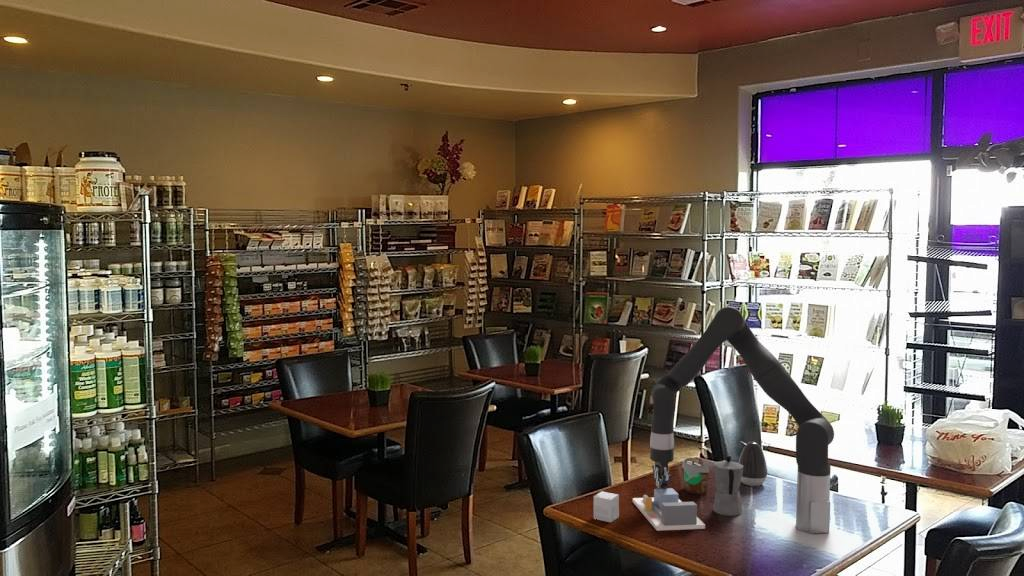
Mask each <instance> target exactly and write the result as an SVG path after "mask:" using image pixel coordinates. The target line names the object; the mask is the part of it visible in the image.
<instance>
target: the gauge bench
mask: <svg viewBox="0 0 1024 576" xmlns="http://www.w3.org/2000/svg"><path fill="white" fill-rule="evenodd" d="M645 497H649V496H648V495H647V494H643V495H642V497H632V503H633V504H634V506H636V508H637V509H638V510H639V511H640V512H641V514H642V515H643V516H644V517H645V518H646V519H647V522H649V523H650V525H651V526H652V527H653V528H654V530H655V531H658V532H659V531H681V530H702V529H703V530H706V524H705V523H704V522H703V521H702V520H701V519H700V518H699V517H698V514H697V513H698V504H697V503H695V502H694V501H682V500H681V499H680V498H679V499H678V502H670V503H662V510H661V511H660V509H659V508H658V507H657V506H656V505H655V504H652V511H645V505H644V502H645ZM650 497H651V498H652V501H654V496H653V497H652V496H650Z"/></svg>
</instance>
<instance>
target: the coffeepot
mask: <svg viewBox="0 0 1024 576" xmlns="http://www.w3.org/2000/svg"><path fill="white" fill-rule="evenodd" d="M725 458H726V460H725V459H723V460H721V461H720V460H719V461H715V462H714V463H713V470H714V471H713V472H714V478H715V481H714V482H715V485H716V486H717V487H716V491H715V493H714V494H715V496H714V501H713V505H712V511H713V512H714V513H716V514H718V515H721V516H727V517H733V516H734V517H735V516H739V515H741V514H742V512H743V506H742V505H743V504H742V501H741V499H742V498H741V493H740V487H741V483H742V482H741V479H742V473H743V468H744V466H743V465H741V464H739V462H735V461H732V456H731V455H726V456H725Z"/></svg>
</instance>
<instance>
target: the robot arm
mask: <svg viewBox="0 0 1024 576" xmlns="http://www.w3.org/2000/svg"><path fill="white" fill-rule="evenodd" d="M725 341H727V342H728V343H729V345H731V346H732V348H734V349H735V351H736V352H737V353H738V355H739V356H740V358H741V359H742V361H743V363H744V364H745V366H746V368H747V369H748V371H749V373H750V374H751V376H752V377H753V379H754V380H755V382H756V383H757V384H758V386H759V387H760V388H761V389H762V391H763V392H764V393H765V394H766V395H767V396H768V397H769V398H770V399H771V400H772V401H773V402H775V403H777V404H778V405H779V406H780V407H781V408H783V409H784V410H785V411H786V412H788V414H789V415H790V416H791V417H792V418H793V420H794V421H795V423H796V424H797V425H798V428H797V430H796V434H795V435H796V436H795V460H796V464H797V478H796V479H797V482H796V508H795V509H796V513H795V515H796V516H795V527H796V528H797V529H799V530H800V531H804V532H807V533H808V534H828V533H830V525H831V524H830V523H831V521H830V520H831V501H830V494H831V493H830V491H831V490H830V489H831V464H830V462H829V445H830V444H832V443H833V441H834V438H835V431H834V428H833V425H832V424H831V422H830V421H829V420H828V419H827V418H826V417H825V416H824V415H823V414H822V413H821V411H819V410H818V409H817V408H816V406H814V404H812V402H811V401H810V399H808V397H807V396H806V395H805V394H804V393H803V391H802V389H801V388H800V387H799V386H798V384H797V383H796V382H795V380H794V379H793V378H792V376H791V375H790V373H789V372H788V371H787V370H786V368H785V367H784V365H783V364H782V363H781V362H780V361H779V360H778V359H777V357H775V356H774V355H773V353H772V352H771V351H770V350H769V349H767V348H766V347H765V346H764V345H763V344H762V343H761V341H759V339H758V338H757V337H756V336H755V334H754V333H753V331H752V330H751V328H750V326H749V325H748V323H747V321H746V320H745V317H744V316H743V313H742V312H741V311H740V310H739V309H737V308H735V307H732V306H726V307H725V306H724V307H722V308H720V309H719V310H718V311H717V312H716V313H715V315H714V317H713V318H712V320H711V321H710V323H709V325H708V327H707V328H706V329H705V331H704V332H703V333H702V334H701V336H700V337H699V339H698V340H697V341H696V342H695V343H694V344H693V345H692V347H690V349H689V350H687V352H686V353H685V354H684V355H683V356H682V357H681V358H680V359H679V360H678V361H677V363H676V364H675V365H673V367H672V369H670V371H669V372H668V373H666V374H665V375H664V376H662V377H661V378H660V379H659V380H658V381H657V382H656V383H655V385H654V386H653V387H652V389H651V390H650V391H651V393H650V394H651V399H652V406H653V407H652V409H653V410H652V416H651V426H650V427H651V428H650V431H651V433H650V437H649V439H650V440H649V443H650V444H649V445H650V446H649V459H650V460H651V461H652V462H654V464H652V465H651V467H652V473H653V479H654V483H655V486H656V489H664V488H668V487H669V485H670V482H671V479H672V476H671V474H669V473H670V466H669V463H672V462H673V461H674V459H675V458H674V453H675V452H674V451H675V448H674V447H675V437H674V436H675V435H674V416H675V415H674V414H675V408H676V407H675V406H676V394H677V393H678V392H679V391H680V390H681V389H682V388H684V387H686V386H688V385H689V384H690V383H691V382H692V381H693V379H695V378H696V376H697V375H698V374H699V373H700V372H701V370H703V368H704V367H705V366H706V364H707V363H708V362H709V360H710V358H711V357H712V355H713V354H714V353H715V352H716V351H717V350H718V348H719V347H720V346H721V345H722V344H723V343H725Z"/></svg>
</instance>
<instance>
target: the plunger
mask: <svg viewBox="0 0 1024 576" xmlns="http://www.w3.org/2000/svg"><path fill="white" fill-rule="evenodd" d="M679 496H680V495H679V493H678V492H677V491H676V490H675V489H674V488H672V487H669V488H668V487H666V488H664V489H657V488H654V490H653V497H654V501H652V504H655V505H656V506H657V507H658V508H659V509H660V511H661V510H662V503H670V502H678V499H679V500H680V498H679ZM644 505H645V502H644Z"/></svg>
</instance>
